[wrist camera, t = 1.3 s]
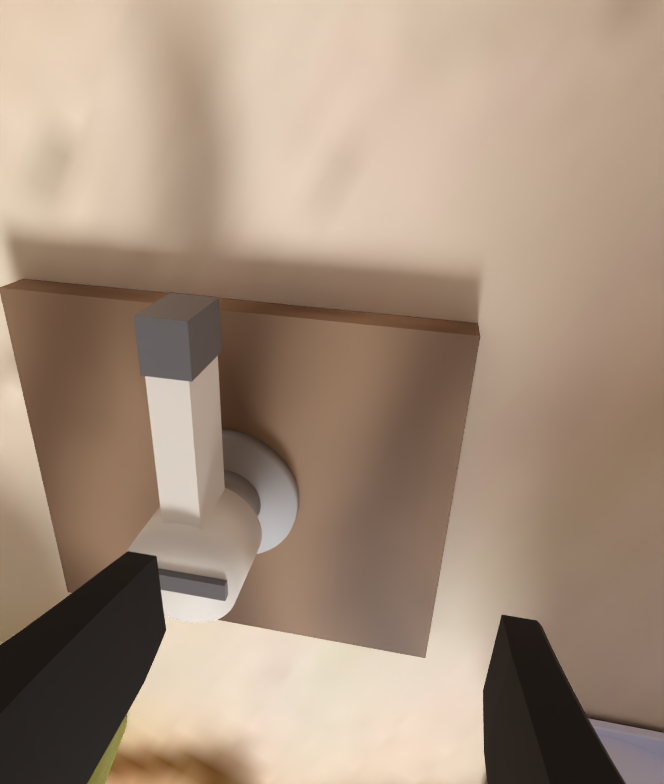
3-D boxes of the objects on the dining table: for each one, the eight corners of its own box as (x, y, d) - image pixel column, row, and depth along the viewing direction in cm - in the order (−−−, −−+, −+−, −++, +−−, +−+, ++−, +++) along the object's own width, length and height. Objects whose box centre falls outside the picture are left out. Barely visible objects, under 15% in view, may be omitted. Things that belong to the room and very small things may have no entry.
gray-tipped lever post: (258, 300, 15) (222, 334, 13) (262, 574, 19) (236, 638, 17) (134, 288, 16) (77, 319, 13) (166, 558, 20) (127, 618, 17)
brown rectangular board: (478, 323, 18) (484, 358, 15) (426, 634, 24) (423, 698, 21) (22, 278, 20) (-43, 302, 17) (83, 573, 26) (42, 623, 23)
